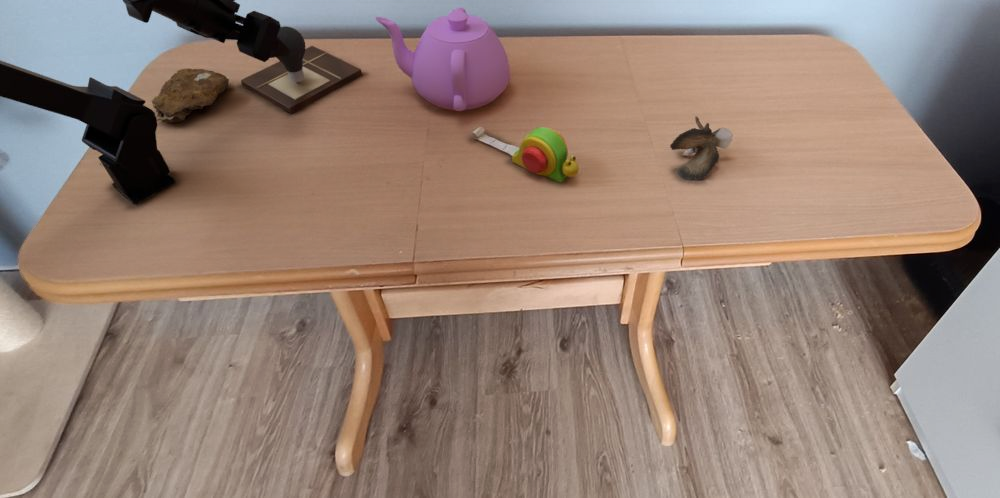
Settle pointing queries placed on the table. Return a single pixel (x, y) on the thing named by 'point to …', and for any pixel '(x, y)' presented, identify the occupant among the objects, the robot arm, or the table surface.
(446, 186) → the table surface
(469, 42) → the teapot
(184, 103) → the decorative rock
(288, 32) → the light bulb
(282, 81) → the picture frame
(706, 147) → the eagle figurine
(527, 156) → the toy measuring tape
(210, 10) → the robot arm
